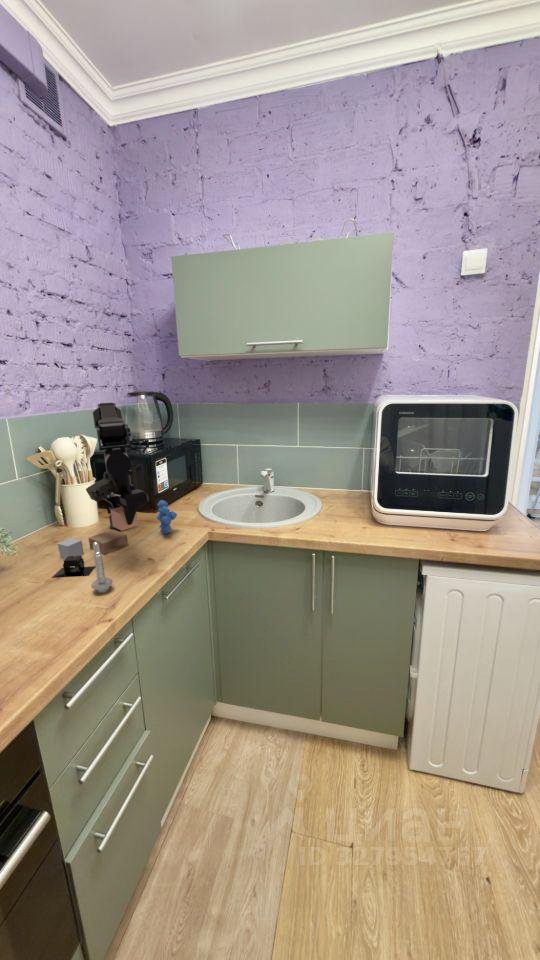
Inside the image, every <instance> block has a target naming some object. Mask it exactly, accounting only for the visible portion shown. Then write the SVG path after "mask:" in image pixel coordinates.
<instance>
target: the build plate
mask: <svg viewBox="0 0 540 960" xmlns="http://www.w3.org/2000/svg"><path fill="white" fill-rule="evenodd" d="M82 556H83V555H81V556H75V557H74V556H68V557H67V558H66V559H64V560H63V563H62V568H60V569H59V570H58V571H57V572H55V574H54V575H53V576H51V578H52V579H56V578H73V577H75V578H76V577H77V578H78V577H89V576H90V574H92V572H93V571H94V569H96V568H95V567H96V566H95V565H94V566H93V565H91V566H85V561H84V558H83V557H82Z"/></svg>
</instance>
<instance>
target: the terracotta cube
mask: <svg viewBox="0 0 540 960" xmlns="http://www.w3.org/2000/svg"><path fill="white" fill-rule="evenodd" d="M137 512H138V511H137ZM137 512H136V514H135V517H134V520H133V522H132V524H131V525H128V524H127V521H126V517H125V514H124V510H123V508H122V507H118V508H114V509H111V517H112V524H113V527H115V528H117V529H119V530H121V531H125V530H128V529H131V528H135V527H137V526H139V520H138V513H137ZM121 531H120V532H121Z"/></svg>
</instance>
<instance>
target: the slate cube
mask: <svg viewBox="0 0 540 960" xmlns="http://www.w3.org/2000/svg"><path fill="white" fill-rule="evenodd" d="M57 548H58V552H59V557H60V558H61V559H64V560H65V559H66V558H67V557H68V556H74V557H75V556H83V555H84V547H83V541H82V540H81V539H77V538H73V537H70V538H68V539H66V540H63V541H62V542H58V543H57Z"/></svg>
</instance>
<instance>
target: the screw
mask: <svg viewBox="0 0 540 960" xmlns="http://www.w3.org/2000/svg"><path fill="white" fill-rule="evenodd" d="M93 549H94V550H93V553H92V554H93V559H94V560H93V562H94V566H96V567H95V568H94V569H95V573H96V579H95V580H94V581H92V582H91V585H90V586H91V589H94V590H96V592H97V593H98V594H106V593H107V592H108V591H110V586H111V585H113V583H114V581H113V579H112V578H110V577H106V575H105V567H104V561H103V557H102V556H103V554H101V550H100V549H99V543H97V542H94V543H93Z"/></svg>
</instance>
